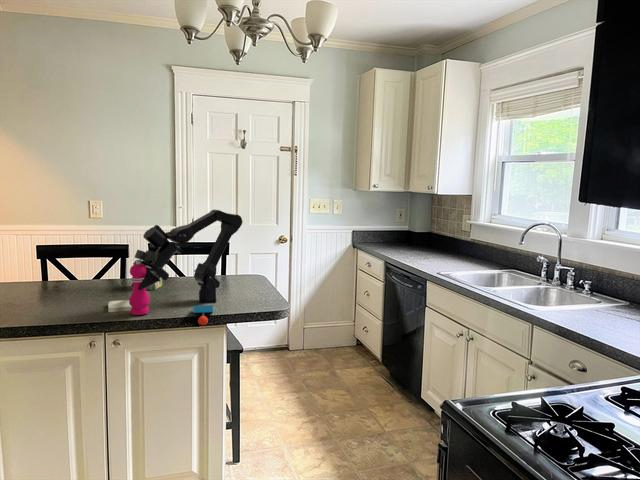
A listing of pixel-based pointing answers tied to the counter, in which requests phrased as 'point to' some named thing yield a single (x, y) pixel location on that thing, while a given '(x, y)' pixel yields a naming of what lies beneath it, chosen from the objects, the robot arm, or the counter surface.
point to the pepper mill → (138, 297)
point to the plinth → (119, 306)
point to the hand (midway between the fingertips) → (135, 288)
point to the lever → (202, 319)
